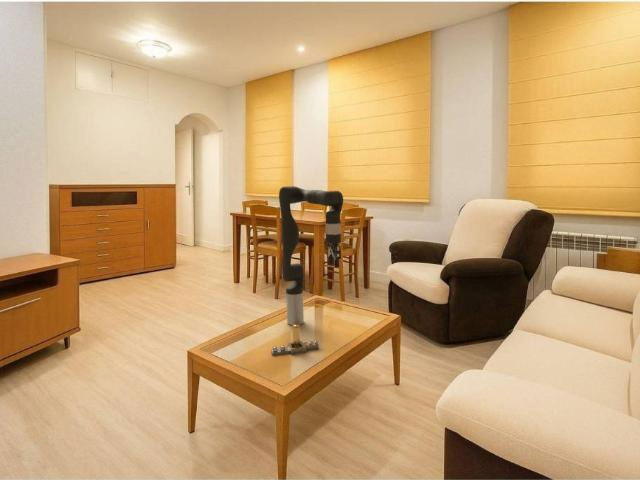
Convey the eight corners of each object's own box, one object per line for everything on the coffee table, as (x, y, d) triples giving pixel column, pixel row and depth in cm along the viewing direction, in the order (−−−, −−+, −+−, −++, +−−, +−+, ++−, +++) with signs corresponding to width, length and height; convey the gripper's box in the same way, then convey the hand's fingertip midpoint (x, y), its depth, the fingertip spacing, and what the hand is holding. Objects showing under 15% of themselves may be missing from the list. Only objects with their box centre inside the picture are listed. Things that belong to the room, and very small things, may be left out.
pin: (292, 349, 179) (291, 324, 177) (299, 348, 180) (298, 323, 178) (294, 352, 176) (293, 326, 174) (300, 351, 177) (300, 325, 175)
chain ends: (270, 350, 178) (270, 344, 178) (316, 344, 184) (316, 338, 184) (273, 357, 171) (273, 350, 170) (320, 350, 177) (320, 344, 176)
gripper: (321, 231, 191) (322, 263, 193) (330, 234, 178) (331, 269, 180) (335, 230, 193) (336, 262, 195) (345, 233, 180) (346, 268, 182)
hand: (333, 265), depth 188 cm, fingers open, 8 cm apart
